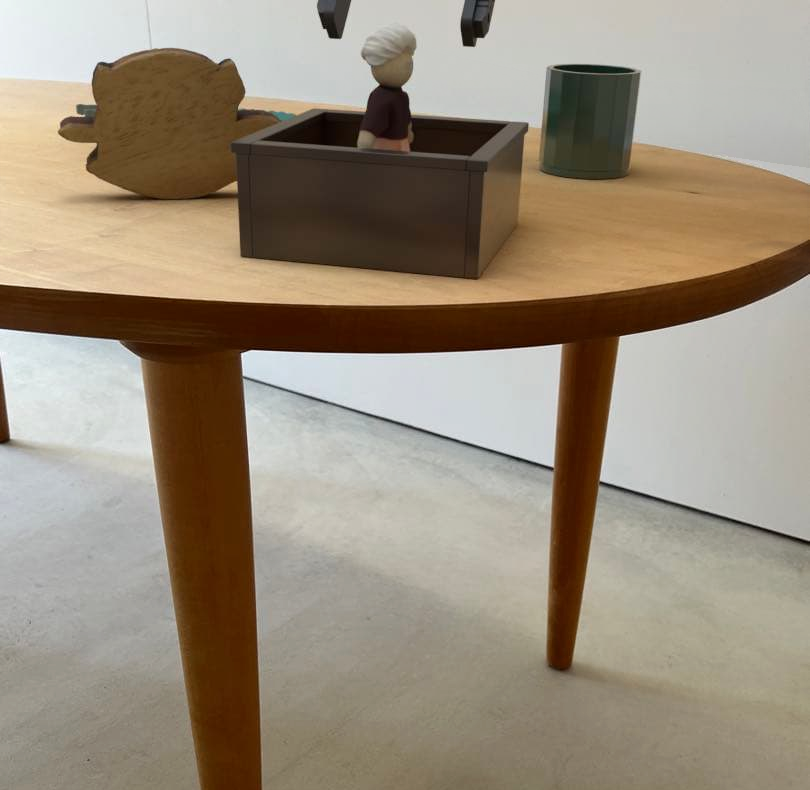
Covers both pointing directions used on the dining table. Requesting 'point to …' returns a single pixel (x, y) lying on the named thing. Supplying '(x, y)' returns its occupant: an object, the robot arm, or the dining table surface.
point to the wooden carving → (166, 123)
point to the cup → (588, 120)
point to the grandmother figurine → (388, 89)
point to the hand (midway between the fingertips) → (398, 33)
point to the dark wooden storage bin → (380, 193)
